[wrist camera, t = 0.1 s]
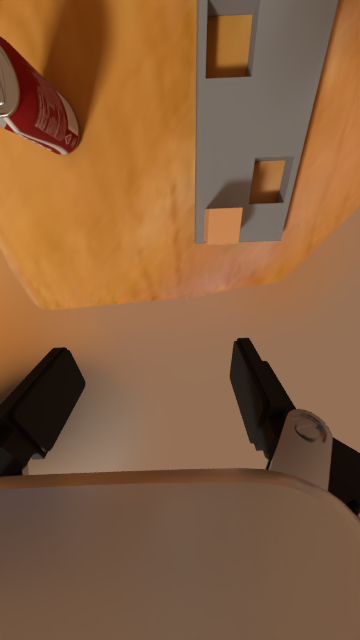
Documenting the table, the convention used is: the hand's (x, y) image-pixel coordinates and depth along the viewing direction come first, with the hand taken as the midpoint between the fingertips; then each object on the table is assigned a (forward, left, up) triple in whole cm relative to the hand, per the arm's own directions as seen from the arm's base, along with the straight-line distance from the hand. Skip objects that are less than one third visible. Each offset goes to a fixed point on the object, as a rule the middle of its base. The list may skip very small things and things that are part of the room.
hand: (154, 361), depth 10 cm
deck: (-18, +13, -31) cm, 38 cm away
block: (-5, +9, -29) cm, 30 cm away
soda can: (-19, -16, -31) cm, 40 cm away
